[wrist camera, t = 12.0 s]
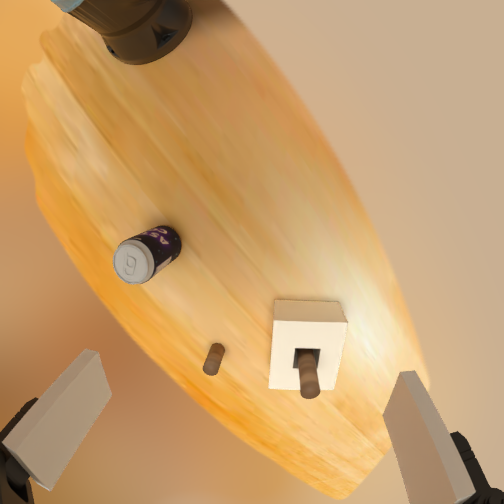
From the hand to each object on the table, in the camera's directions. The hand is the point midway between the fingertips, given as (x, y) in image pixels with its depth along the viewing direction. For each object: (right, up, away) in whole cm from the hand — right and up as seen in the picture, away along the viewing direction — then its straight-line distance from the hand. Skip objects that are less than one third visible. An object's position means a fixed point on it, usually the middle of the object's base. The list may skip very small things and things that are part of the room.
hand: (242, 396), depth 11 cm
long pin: (+9, -8, +34) cm, 36 cm away
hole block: (+9, -7, +34) cm, 36 cm away
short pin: (-5, -10, +36) cm, 38 cm away
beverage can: (-13, +7, +33) cm, 36 cm away
